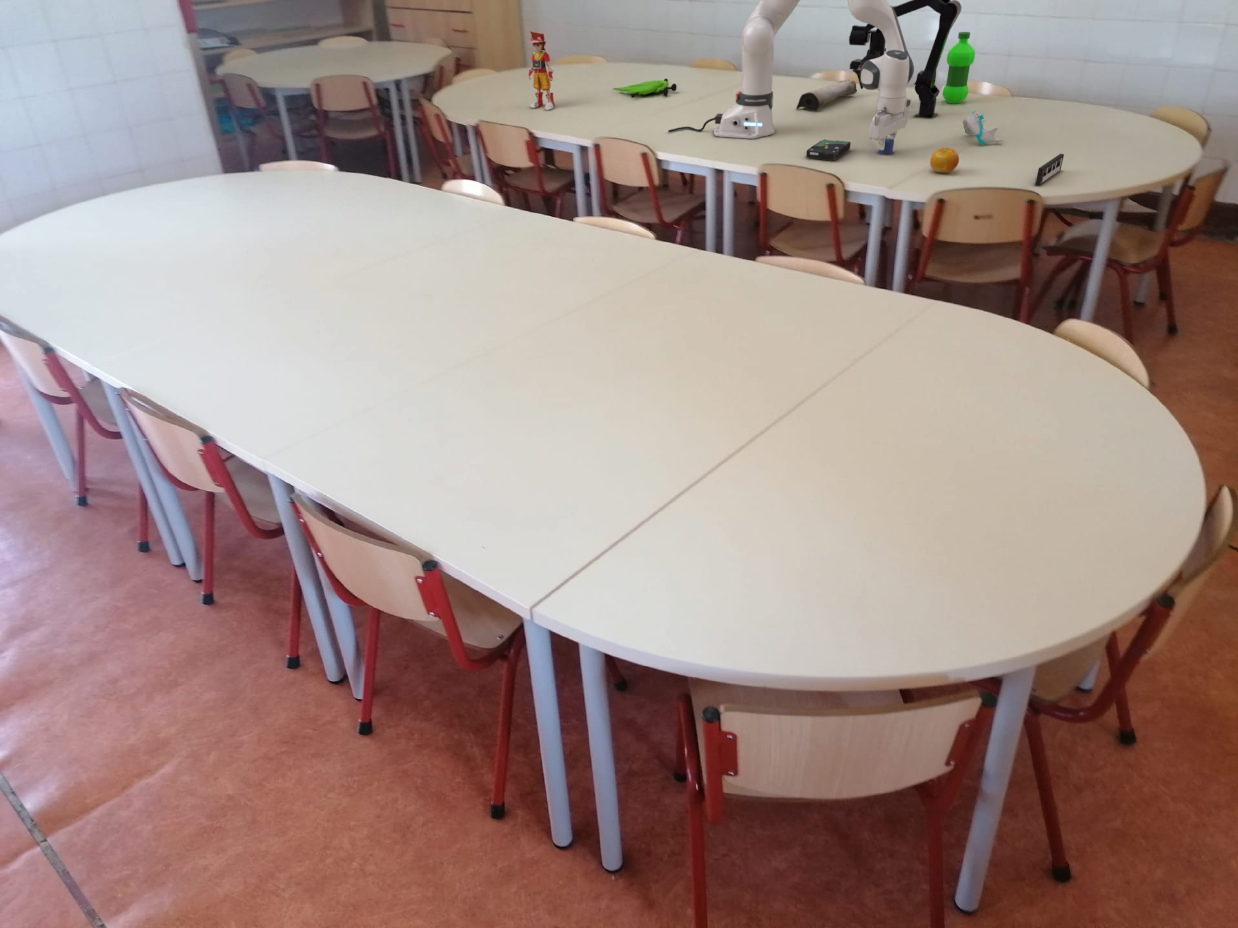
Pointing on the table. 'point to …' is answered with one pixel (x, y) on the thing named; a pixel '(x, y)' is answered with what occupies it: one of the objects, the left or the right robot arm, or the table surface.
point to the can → (888, 147)
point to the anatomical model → (979, 129)
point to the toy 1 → (541, 71)
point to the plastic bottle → (958, 69)
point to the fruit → (944, 160)
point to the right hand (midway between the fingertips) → (872, 90)
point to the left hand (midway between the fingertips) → (886, 147)
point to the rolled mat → (826, 94)
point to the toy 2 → (648, 88)
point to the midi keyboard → (1049, 169)
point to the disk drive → (828, 149)
